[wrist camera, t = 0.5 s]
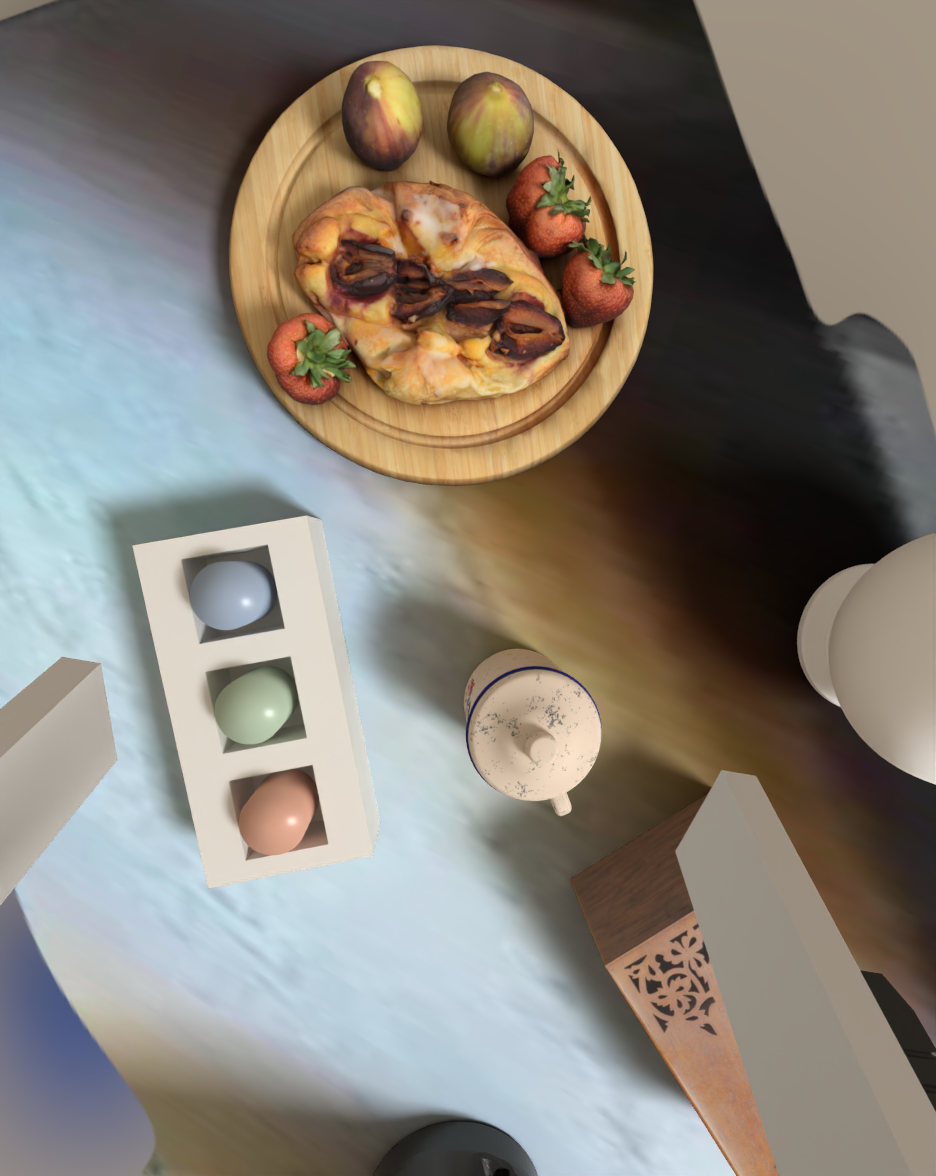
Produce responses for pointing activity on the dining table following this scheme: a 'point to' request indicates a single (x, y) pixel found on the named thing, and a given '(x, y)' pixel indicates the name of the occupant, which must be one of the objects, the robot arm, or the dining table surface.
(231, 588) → the button slate
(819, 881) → the dining table surface
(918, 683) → the decorative vase
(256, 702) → the button sage
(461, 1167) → the robot arm
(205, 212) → the dining table surface
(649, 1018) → the tissue box cover
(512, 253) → the wooden plate with food
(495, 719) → the teacup with lid
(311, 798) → the button terracotta
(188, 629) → the tray
